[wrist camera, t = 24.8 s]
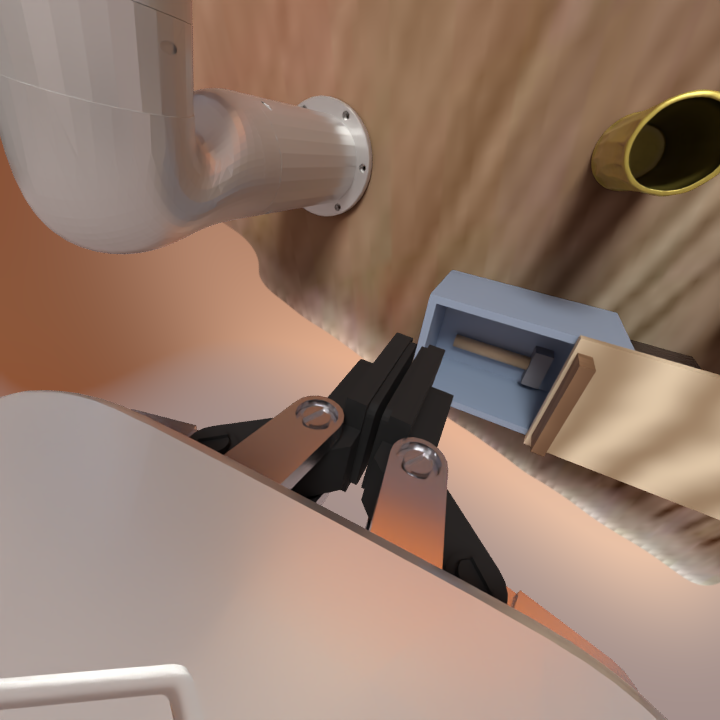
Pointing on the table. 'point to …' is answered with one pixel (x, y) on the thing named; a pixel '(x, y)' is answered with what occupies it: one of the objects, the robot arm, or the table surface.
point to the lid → (636, 422)
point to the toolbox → (506, 344)
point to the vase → (662, 147)
